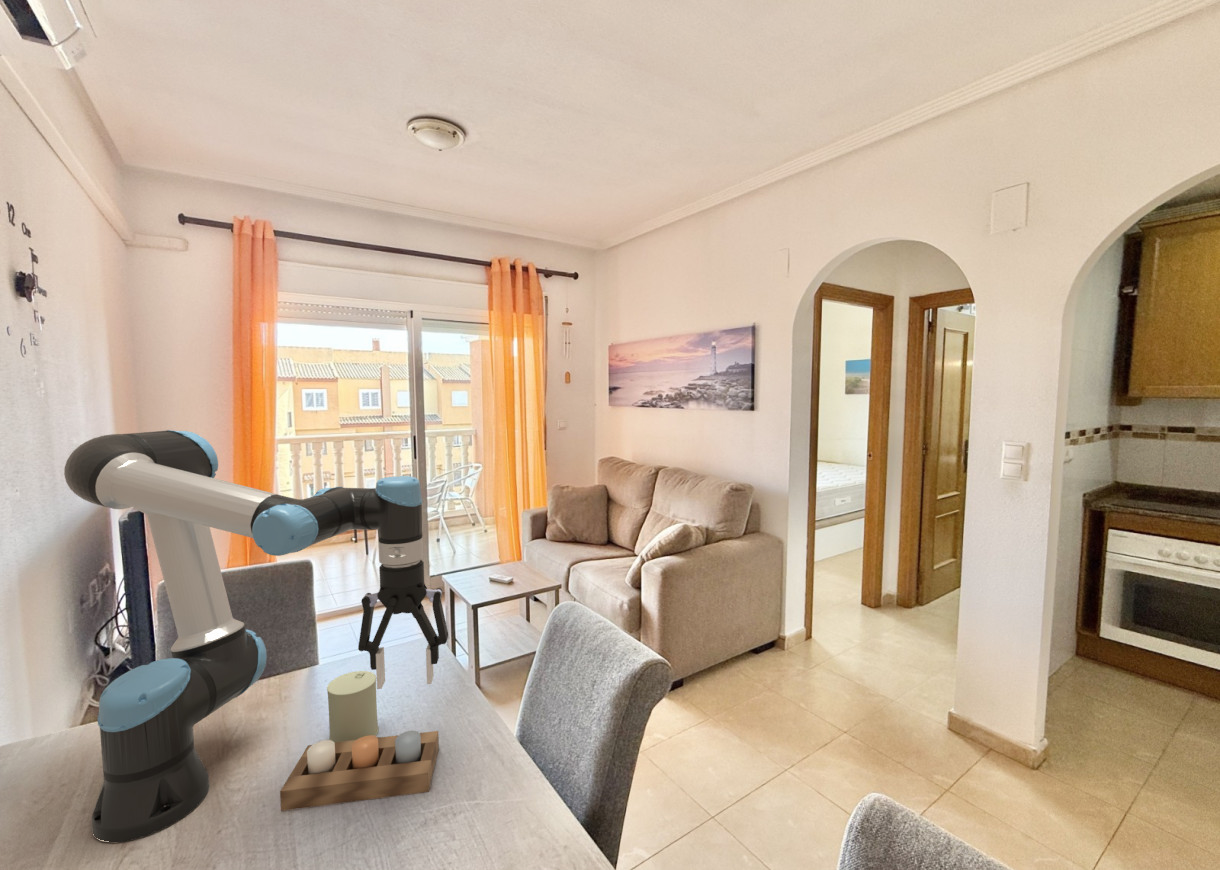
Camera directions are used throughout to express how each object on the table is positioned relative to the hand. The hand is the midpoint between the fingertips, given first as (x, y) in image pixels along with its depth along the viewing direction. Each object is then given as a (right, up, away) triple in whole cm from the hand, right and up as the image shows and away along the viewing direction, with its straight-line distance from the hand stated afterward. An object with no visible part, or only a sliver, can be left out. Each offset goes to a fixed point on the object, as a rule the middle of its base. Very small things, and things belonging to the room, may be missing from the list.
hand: (405, 682), depth 97 cm
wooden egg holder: (-7, -17, 0) cm, 19 cm away
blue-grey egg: (0, -15, +1) cm, 15 cm away
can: (-15, -17, +12) cm, 26 cm away
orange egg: (-7, -15, 0) cm, 17 cm away
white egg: (-15, -16, -2) cm, 21 cm away
